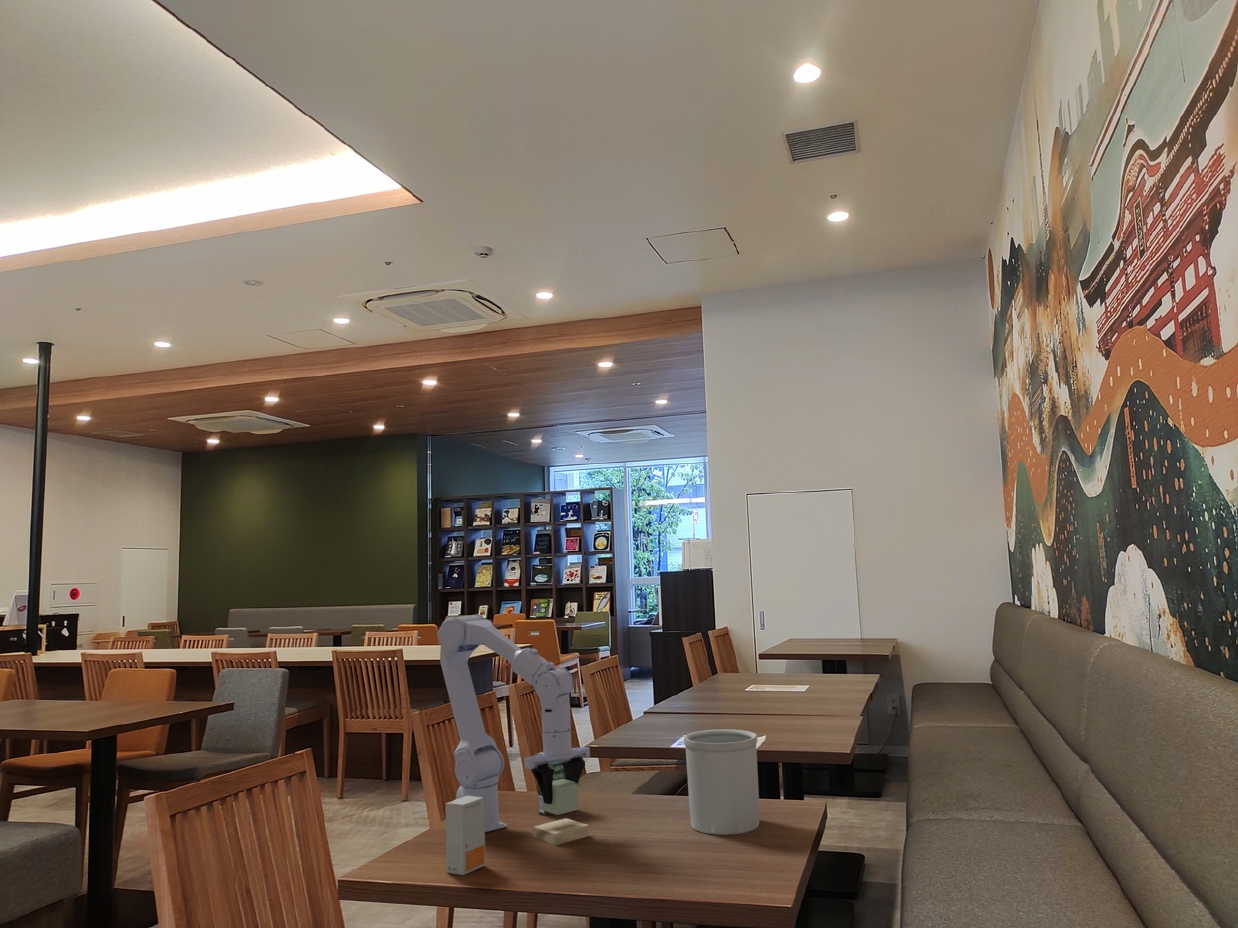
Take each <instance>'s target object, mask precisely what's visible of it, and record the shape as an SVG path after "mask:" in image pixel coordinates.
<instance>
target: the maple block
mask: <svg viewBox="0 0 1238 928" xmlns="http://www.w3.org/2000/svg"><path fill="white" fill-rule="evenodd" d="M532 835H533V837H532V838H534V837H535V838H534V839H536V838H537V840H539V839H540V840H539V841H542V842H545V843H547V844H551V845H553V846H559V845H562V843H563V844H566V842H567V843H570V842H573V841H572V840H574V841H576V840H575V839H577V840H581V839H584V838H583V837H585V838H587V837H586V836H588V837H590V825H589V824H586V823H583V822H579V821H577V820H575V819H574V820H573V819H570V818H567V817H565V818H561V819H558V820H554V821H550V822H545V823H542V824H539V825H535V826H532ZM580 838H581V839H580ZM569 841H570V842H569Z"/></svg>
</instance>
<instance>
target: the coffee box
mask: <svg viewBox="0 0 1238 928" xmlns="http://www.w3.org/2000/svg"><path fill="white" fill-rule="evenodd" d="M541 753H543V751H541V752H537V753H535V755H538V754H541ZM552 761H554V760H552ZM549 766H550V768H551V769H554V770H555V771H554V775H553V781H555V780H559V779H565V773H564V768H563V765H562V762H560V763H555V764H550V765H548V767H549ZM536 786H537V790H536V791H537V805H538V814H539V815H542V816H544V815H546V816H548V815H554V814H553V813H550V812H547V811H544V810H543V797H542V793H541V790H540V787H539V785H538V782H537V781H536Z"/></svg>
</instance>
